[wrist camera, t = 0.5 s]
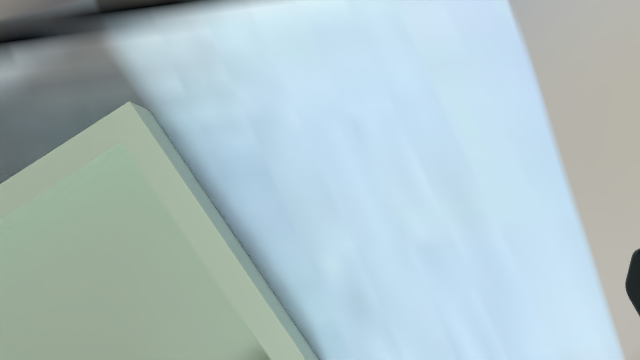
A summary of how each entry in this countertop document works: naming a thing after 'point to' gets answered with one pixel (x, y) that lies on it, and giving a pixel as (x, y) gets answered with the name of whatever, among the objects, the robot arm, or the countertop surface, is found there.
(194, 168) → the countertop surface
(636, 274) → the robot arm
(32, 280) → the tray
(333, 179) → the countertop surface
